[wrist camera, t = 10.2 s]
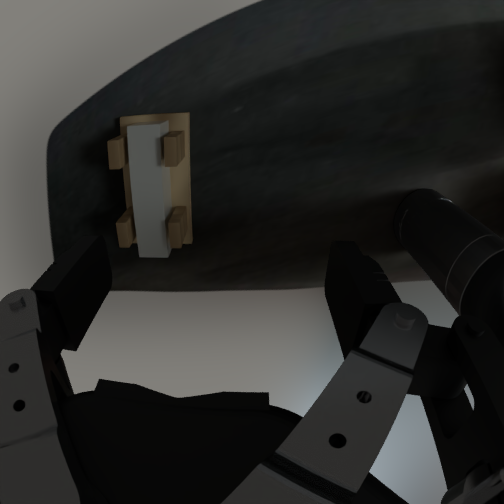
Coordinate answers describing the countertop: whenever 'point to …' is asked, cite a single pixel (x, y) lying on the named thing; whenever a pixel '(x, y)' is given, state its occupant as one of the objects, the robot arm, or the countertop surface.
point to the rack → (179, 176)
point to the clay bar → (150, 187)
